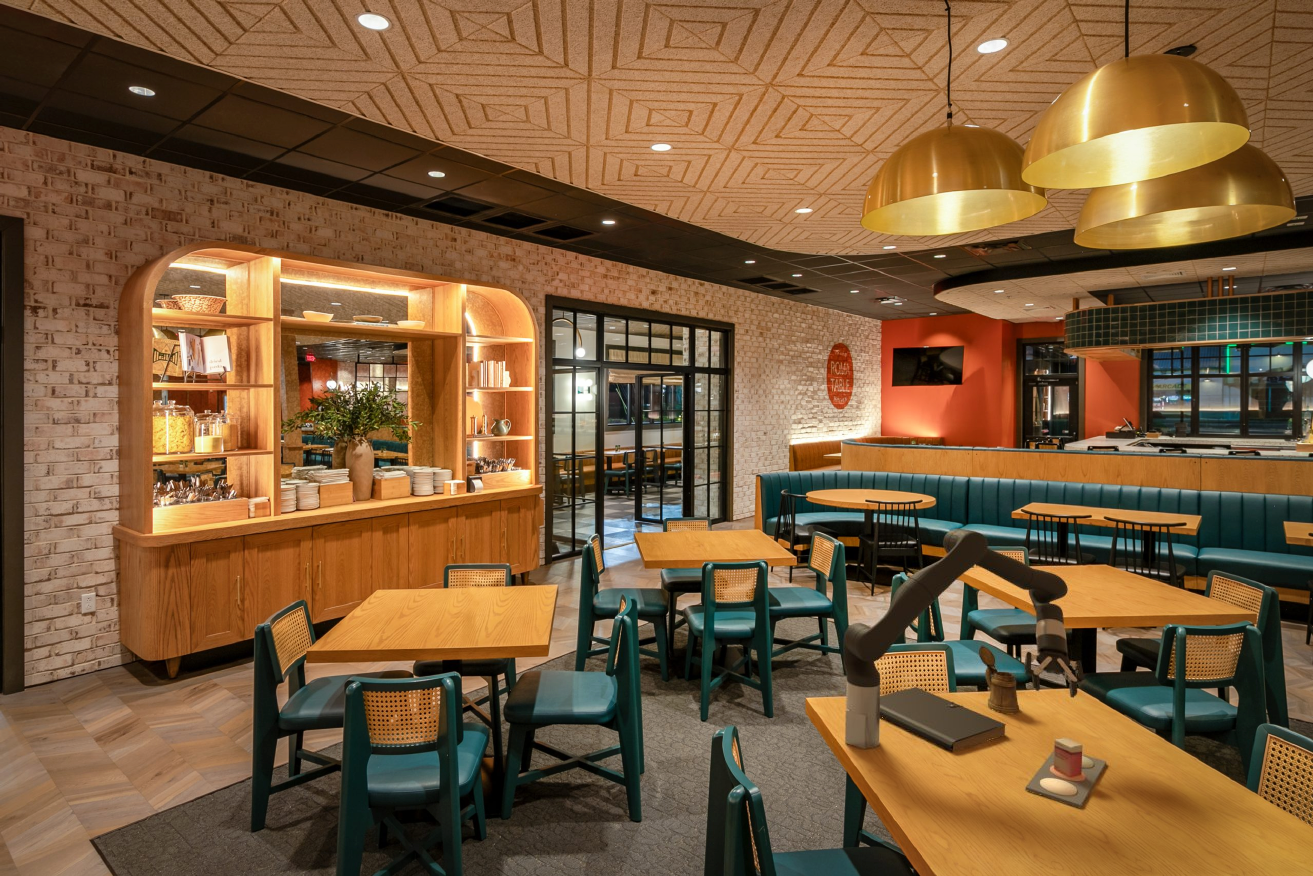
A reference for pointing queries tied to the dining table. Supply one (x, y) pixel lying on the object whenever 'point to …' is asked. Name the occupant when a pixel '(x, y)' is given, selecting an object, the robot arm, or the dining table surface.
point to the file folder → (938, 719)
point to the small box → (1068, 757)
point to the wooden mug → (999, 685)
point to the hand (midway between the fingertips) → (1055, 693)
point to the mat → (1066, 781)
